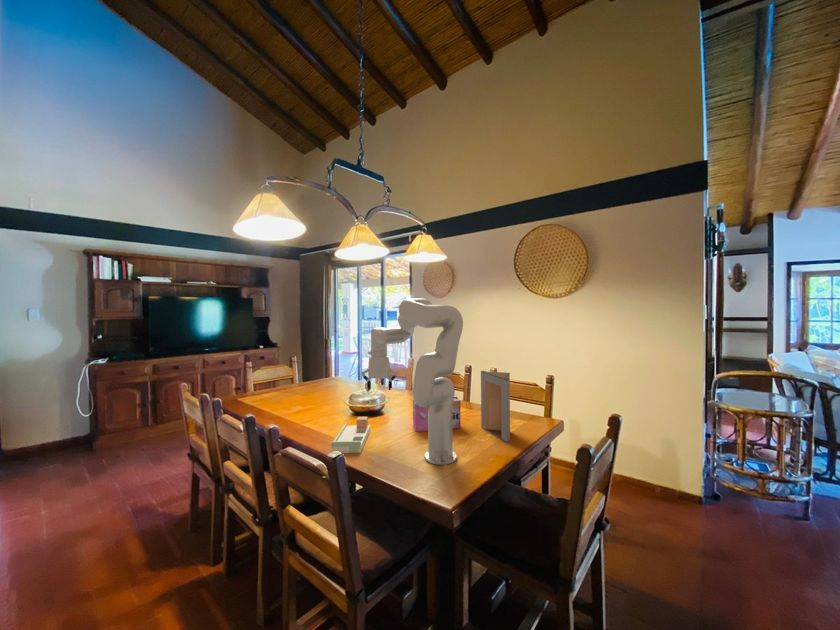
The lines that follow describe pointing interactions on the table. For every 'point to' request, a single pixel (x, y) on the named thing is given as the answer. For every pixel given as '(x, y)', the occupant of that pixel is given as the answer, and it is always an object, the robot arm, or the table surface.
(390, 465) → the table surface
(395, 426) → the table surface
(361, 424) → the block
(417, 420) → the gum box
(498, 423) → the cabinet
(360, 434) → the tray
